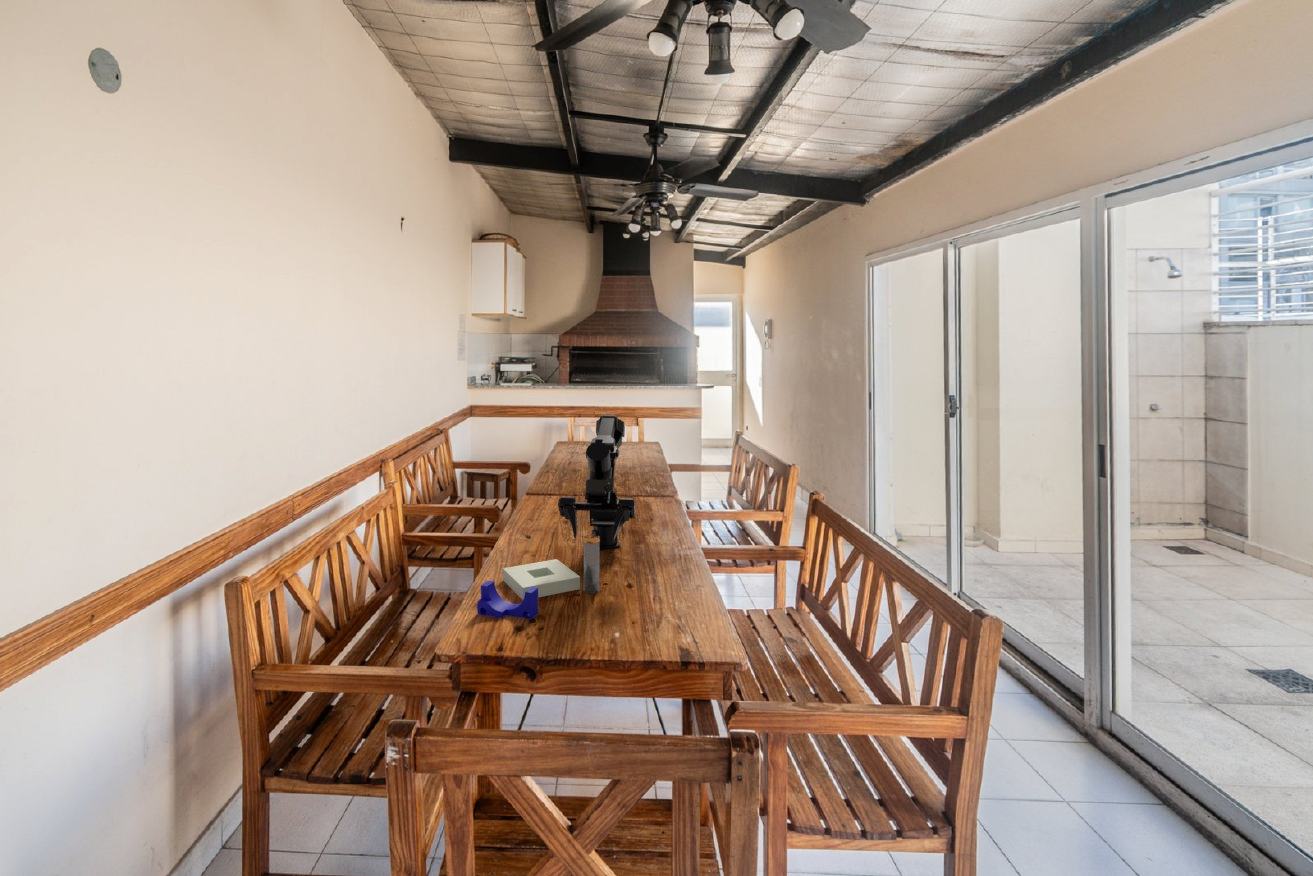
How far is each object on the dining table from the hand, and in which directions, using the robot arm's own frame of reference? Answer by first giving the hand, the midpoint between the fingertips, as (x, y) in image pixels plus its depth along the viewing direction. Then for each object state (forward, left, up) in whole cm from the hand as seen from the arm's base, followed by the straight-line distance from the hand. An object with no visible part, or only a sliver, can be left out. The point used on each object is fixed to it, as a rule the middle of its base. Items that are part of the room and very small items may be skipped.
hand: (594, 538), depth 152 cm
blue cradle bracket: (+24, +7, -12) cm, 27 cm away
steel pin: (+3, +4, -11) cm, 12 cm away
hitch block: (+12, -5, -11) cm, 17 cm away
